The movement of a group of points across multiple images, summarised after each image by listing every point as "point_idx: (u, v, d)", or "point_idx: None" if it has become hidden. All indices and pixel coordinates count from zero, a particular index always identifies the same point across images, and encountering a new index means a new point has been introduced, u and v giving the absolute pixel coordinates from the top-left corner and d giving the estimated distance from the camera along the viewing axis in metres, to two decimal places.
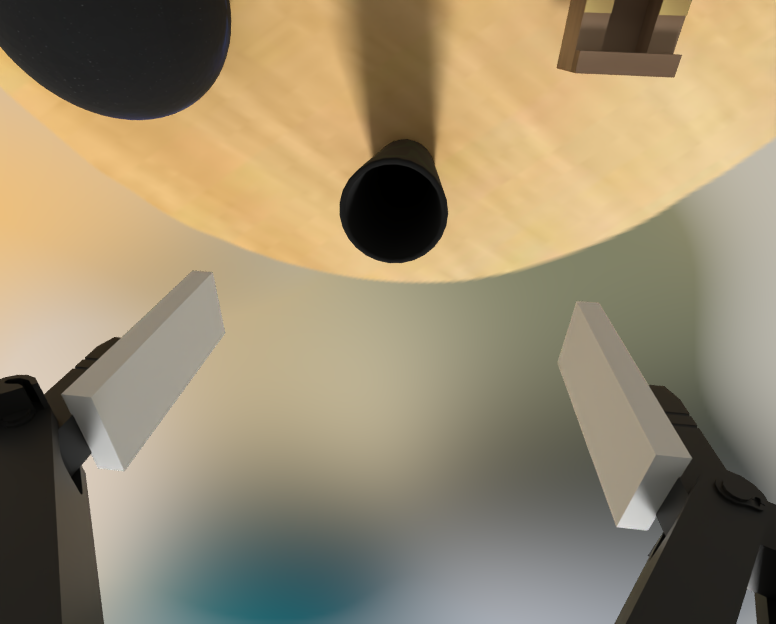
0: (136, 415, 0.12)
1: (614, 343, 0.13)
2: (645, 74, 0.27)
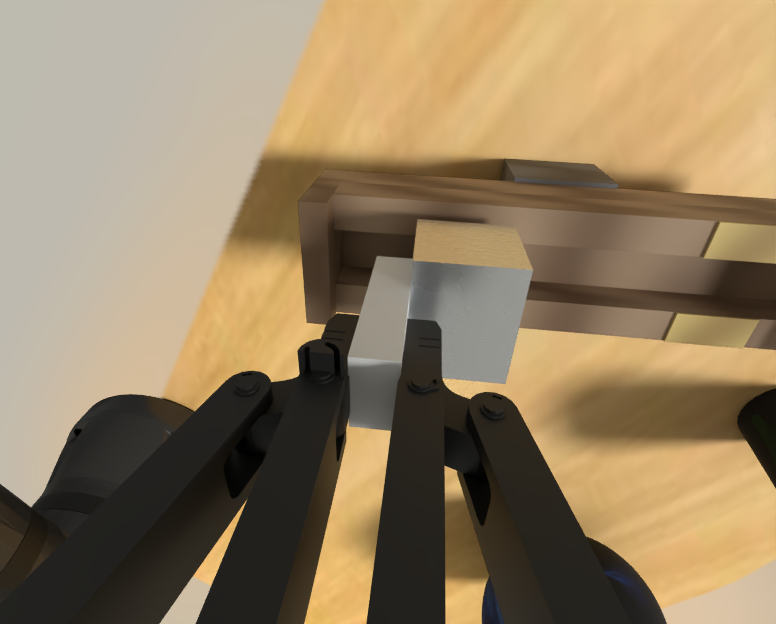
0: None
1: (402, 287, 0.15)
2: None
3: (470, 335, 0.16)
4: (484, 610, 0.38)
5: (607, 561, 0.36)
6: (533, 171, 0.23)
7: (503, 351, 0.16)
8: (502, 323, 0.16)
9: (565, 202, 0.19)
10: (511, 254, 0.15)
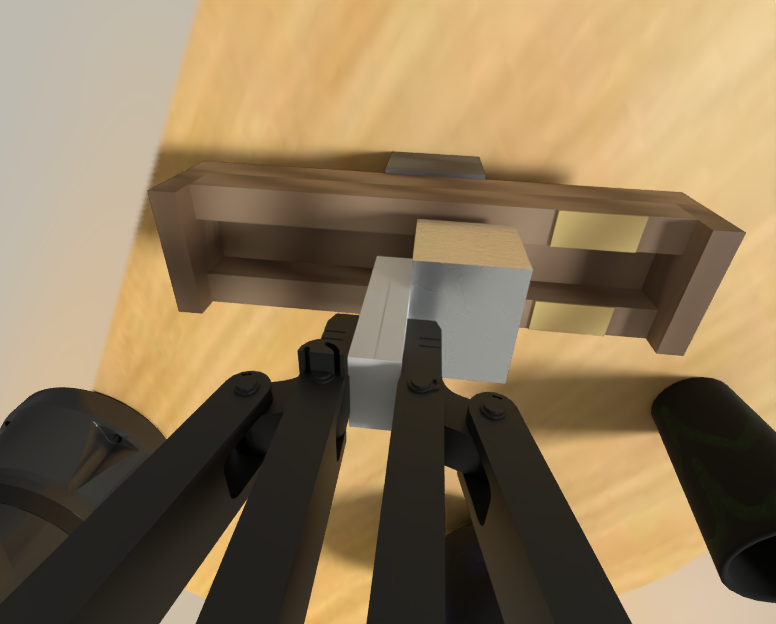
0: None
1: (402, 287, 0.15)
2: (723, 273, 0.18)
3: (470, 335, 0.16)
4: None
5: None
6: (410, 163, 0.23)
7: (503, 351, 0.16)
8: (502, 323, 0.16)
9: (419, 192, 0.19)
10: (511, 254, 0.15)
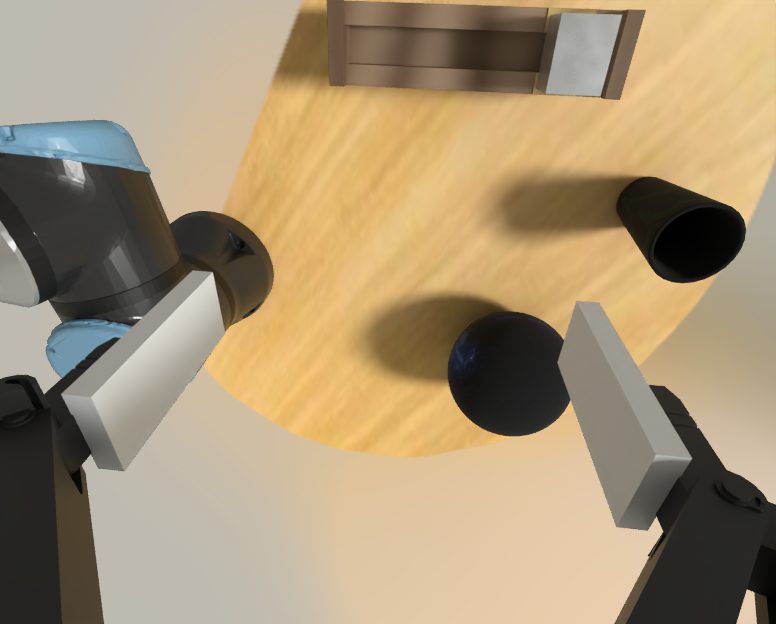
0: (136, 415, 0.12)
1: (614, 343, 0.13)
2: (636, 38, 0.33)
3: (585, 61, 0.31)
4: (448, 362, 0.54)
5: (532, 316, 0.52)
6: None
7: (601, 72, 0.31)
8: (603, 52, 0.31)
9: None
10: None
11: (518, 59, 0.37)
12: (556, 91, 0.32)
